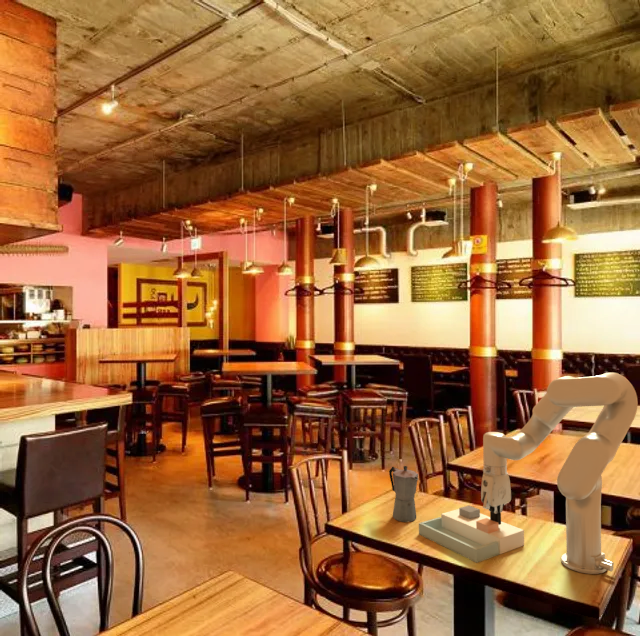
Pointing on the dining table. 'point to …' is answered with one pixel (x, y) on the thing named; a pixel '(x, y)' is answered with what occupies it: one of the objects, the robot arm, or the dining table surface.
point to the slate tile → (469, 512)
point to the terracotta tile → (487, 525)
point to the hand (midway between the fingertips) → (495, 523)
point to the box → (457, 541)
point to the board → (465, 527)
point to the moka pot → (404, 493)
